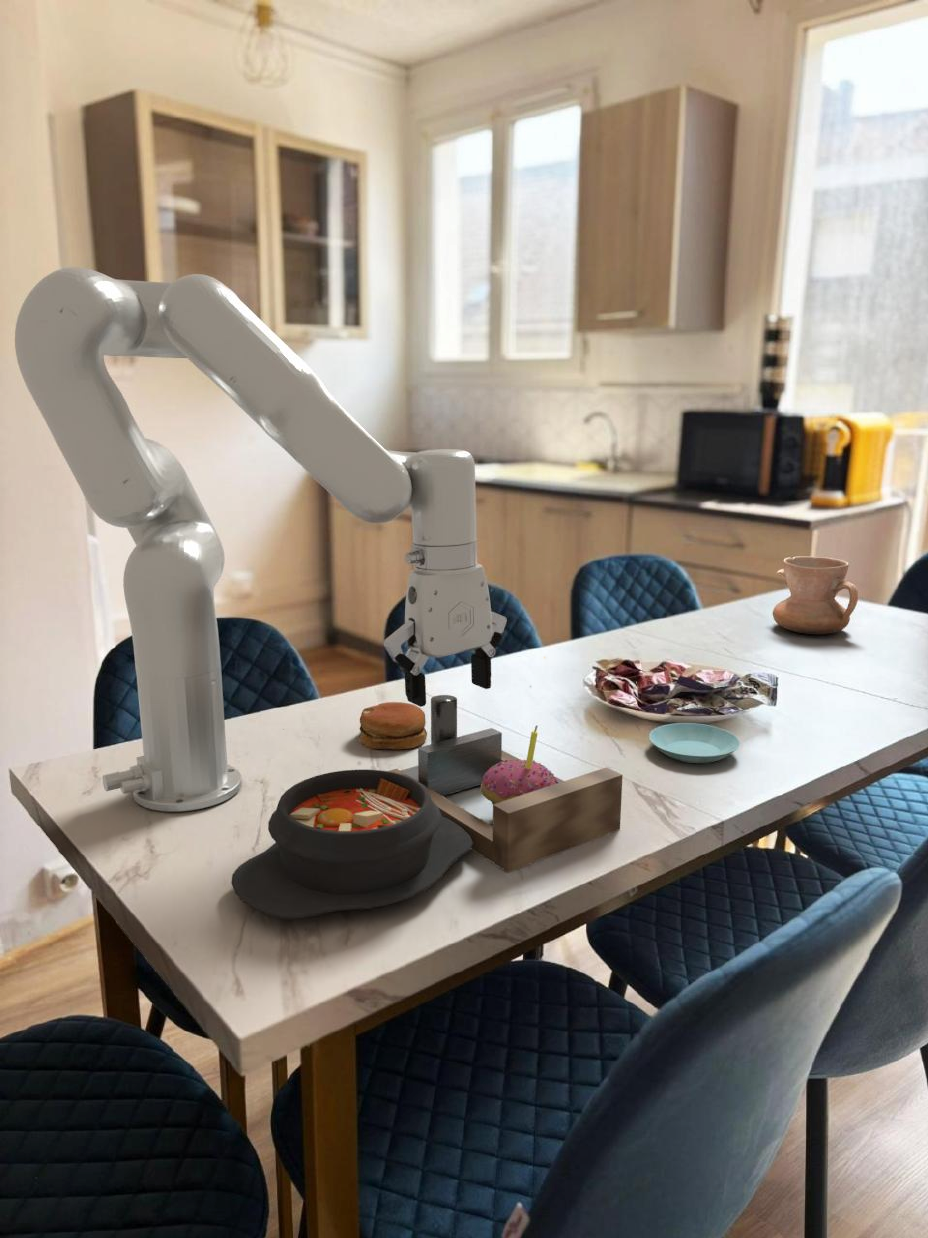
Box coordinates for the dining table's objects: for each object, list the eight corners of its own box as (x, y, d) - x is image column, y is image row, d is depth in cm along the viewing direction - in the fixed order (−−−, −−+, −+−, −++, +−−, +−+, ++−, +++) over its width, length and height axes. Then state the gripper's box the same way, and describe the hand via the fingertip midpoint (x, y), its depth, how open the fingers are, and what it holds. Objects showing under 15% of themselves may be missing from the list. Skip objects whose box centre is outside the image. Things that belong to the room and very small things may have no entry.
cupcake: (568, 816, 106) (571, 717, 103) (535, 847, 99) (538, 741, 96) (502, 799, 110) (503, 703, 107) (466, 828, 103) (466, 726, 100)
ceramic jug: (751, 626, 189) (756, 557, 186) (797, 617, 197) (803, 551, 193) (827, 646, 175) (834, 572, 171) (873, 636, 182) (882, 565, 179)
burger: (435, 748, 126) (435, 715, 125) (368, 756, 123) (367, 723, 122) (415, 724, 135) (415, 693, 134) (352, 731, 132) (351, 700, 131)
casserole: (405, 808, 108) (404, 741, 106) (511, 872, 94) (513, 796, 92) (200, 878, 92) (194, 800, 90) (291, 967, 78) (287, 877, 76)
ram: (428, 800, 109) (427, 719, 106) (396, 780, 114) (394, 702, 112) (501, 778, 115) (502, 700, 113) (467, 760, 121) (467, 685, 118)
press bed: (507, 872, 93) (508, 813, 92) (383, 790, 112) (382, 740, 111) (619, 829, 103) (622, 774, 101) (487, 760, 121) (488, 713, 120)
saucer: (692, 779, 116) (693, 762, 116) (629, 748, 126) (630, 732, 126) (757, 760, 122) (759, 743, 122) (693, 732, 132) (694, 717, 132)
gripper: (400, 571, 101) (406, 719, 105) (522, 551, 111) (523, 687, 115) (365, 562, 107) (372, 702, 111) (484, 543, 117) (487, 673, 121)
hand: (449, 694), depth 113 cm, fingers open, 9 cm apart
